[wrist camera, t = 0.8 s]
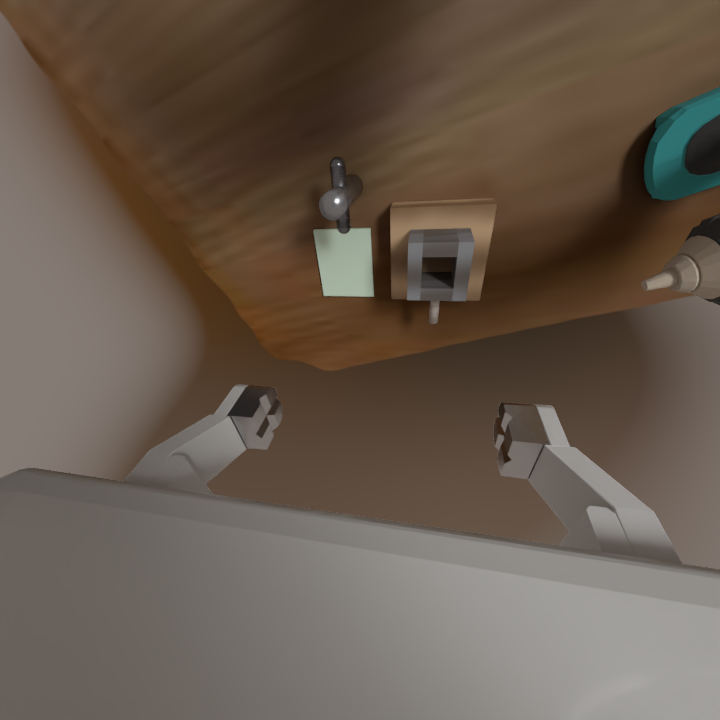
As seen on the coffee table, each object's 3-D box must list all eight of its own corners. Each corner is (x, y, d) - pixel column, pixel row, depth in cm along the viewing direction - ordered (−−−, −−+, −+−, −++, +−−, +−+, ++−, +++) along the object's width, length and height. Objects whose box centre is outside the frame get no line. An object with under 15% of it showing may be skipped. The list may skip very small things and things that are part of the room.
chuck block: (392, 202, 39) (385, 219, 33) (493, 198, 37) (505, 215, 31) (393, 301, 48) (387, 329, 42) (475, 303, 45) (481, 333, 39)
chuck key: (339, 150, 37) (312, 162, 29) (360, 149, 36) (339, 160, 28) (345, 219, 41) (324, 245, 33) (364, 218, 41) (348, 245, 33)
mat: (313, 229, 43) (313, 230, 43) (370, 227, 41) (370, 228, 41) (324, 294, 49) (323, 295, 49) (374, 295, 48) (373, 296, 47)
